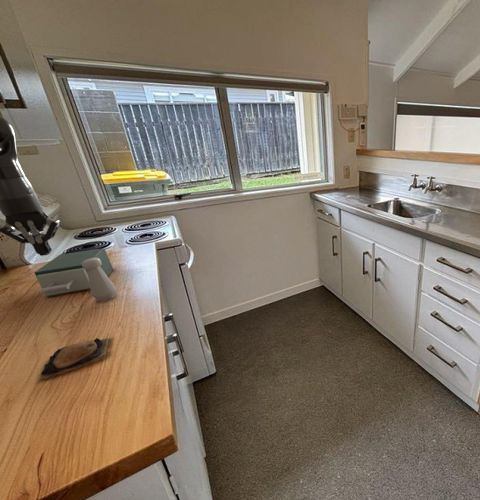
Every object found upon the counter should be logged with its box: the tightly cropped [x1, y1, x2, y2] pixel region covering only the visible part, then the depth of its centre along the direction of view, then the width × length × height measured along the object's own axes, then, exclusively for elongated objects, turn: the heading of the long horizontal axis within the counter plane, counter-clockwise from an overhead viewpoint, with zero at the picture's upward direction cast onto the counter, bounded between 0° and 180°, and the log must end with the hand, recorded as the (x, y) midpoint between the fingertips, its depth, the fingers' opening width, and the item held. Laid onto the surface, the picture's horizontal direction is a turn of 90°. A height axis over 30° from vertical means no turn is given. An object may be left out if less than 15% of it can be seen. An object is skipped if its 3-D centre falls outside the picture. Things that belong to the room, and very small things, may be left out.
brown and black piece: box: [40, 337, 109, 381], centre depth 62 cm, size 11×8×4 cm
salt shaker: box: [81, 258, 117, 302], centre depth 84 cm, size 6×6×13 cm
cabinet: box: [34, 247, 114, 298], centre depth 95 cm, size 15×13×9 cm
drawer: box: [35, 268, 90, 297], centre depth 91 cm, size 19×12×7 cm, turn 21°
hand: (45, 254), depth 82 cm, fingers closed
